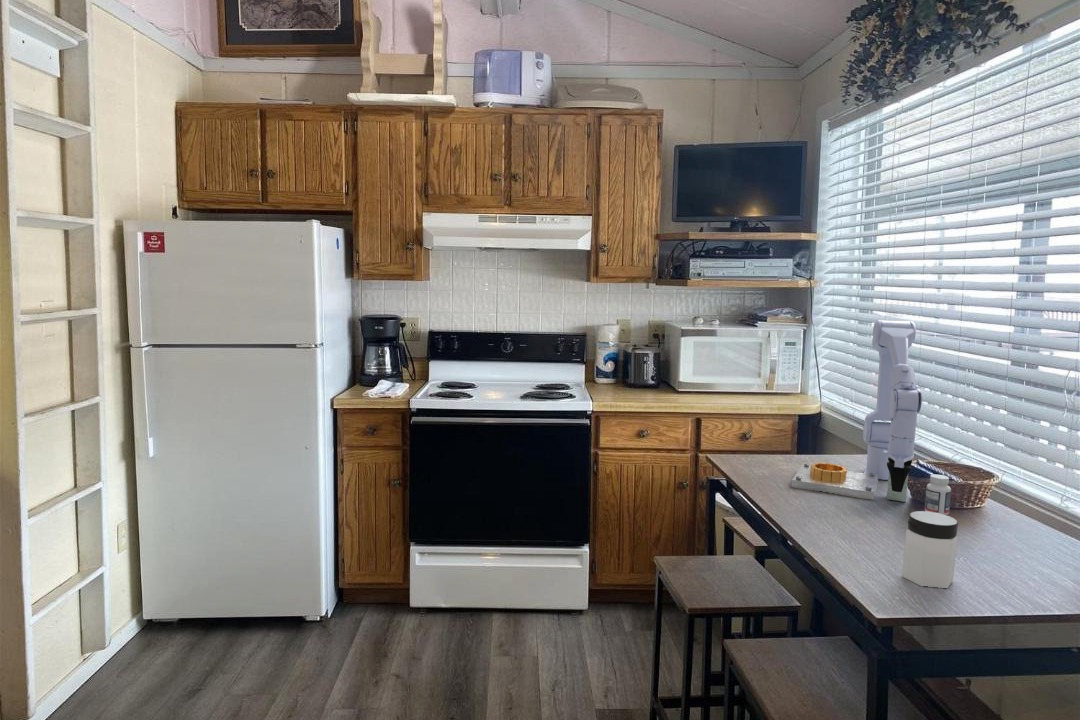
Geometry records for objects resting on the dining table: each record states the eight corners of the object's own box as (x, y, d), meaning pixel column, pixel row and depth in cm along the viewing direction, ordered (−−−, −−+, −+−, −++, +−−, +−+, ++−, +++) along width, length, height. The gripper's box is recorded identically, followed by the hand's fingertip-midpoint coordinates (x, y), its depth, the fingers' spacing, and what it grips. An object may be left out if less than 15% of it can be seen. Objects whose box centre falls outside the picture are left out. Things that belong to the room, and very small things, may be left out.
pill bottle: (943, 509, 183) (946, 474, 182) (952, 516, 178) (956, 480, 177) (920, 508, 183) (924, 472, 182) (929, 515, 178) (933, 479, 177)
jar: (909, 566, 147) (915, 507, 145) (956, 578, 142) (962, 517, 140) (897, 580, 140) (902, 518, 139) (945, 593, 135) (952, 529, 133)
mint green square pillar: (887, 494, 193) (890, 463, 192) (906, 497, 191) (909, 466, 190) (886, 498, 189) (889, 467, 188) (905, 501, 187) (908, 470, 186)
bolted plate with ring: (801, 471, 214) (802, 455, 213) (877, 482, 205) (879, 466, 204) (791, 487, 198) (792, 470, 197) (873, 500, 189) (875, 482, 188)
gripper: (886, 429, 196) (881, 479, 198) (883, 440, 183) (878, 493, 185) (916, 432, 193) (911, 483, 195) (915, 443, 180) (910, 498, 182)
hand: (897, 488), depth 190 cm, fingers closed on mint green square pillar, 4 cm apart
